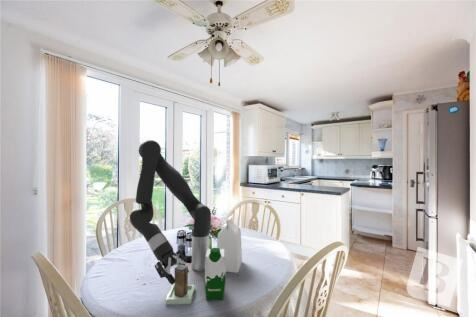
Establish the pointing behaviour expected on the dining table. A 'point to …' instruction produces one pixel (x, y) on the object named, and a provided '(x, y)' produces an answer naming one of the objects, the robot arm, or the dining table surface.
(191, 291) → the rest
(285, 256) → the dining table surface
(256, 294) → the dining table surface
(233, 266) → the milk
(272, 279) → the dining table surface
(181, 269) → the brown wooden slotted block
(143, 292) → the dining table surface
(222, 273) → the milk carton
